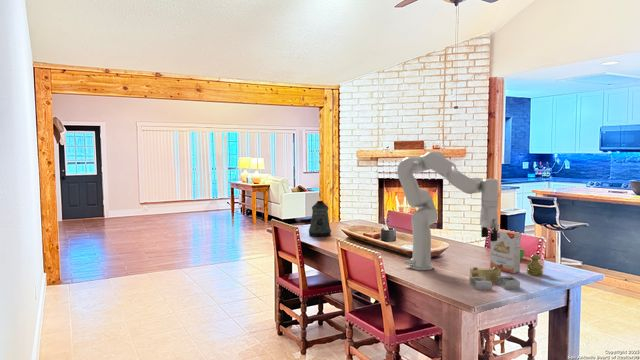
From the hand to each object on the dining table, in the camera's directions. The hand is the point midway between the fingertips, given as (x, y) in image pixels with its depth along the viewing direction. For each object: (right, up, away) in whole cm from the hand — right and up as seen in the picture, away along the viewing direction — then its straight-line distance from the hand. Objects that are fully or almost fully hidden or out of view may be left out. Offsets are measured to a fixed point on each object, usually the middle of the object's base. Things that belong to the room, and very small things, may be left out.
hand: (489, 238), depth 224 cm
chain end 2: (+5, -21, -10) cm, 24 cm away
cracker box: (+14, -19, +17) cm, 29 cm away
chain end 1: (-8, -21, -11) cm, 25 cm away
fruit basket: (+29, -17, +41) cm, 53 cm away
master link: (-3, -20, -2) cm, 21 cm away
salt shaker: (+27, -19, +10) cm, 35 cm away
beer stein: (-83, -12, +115) cm, 142 cm away
